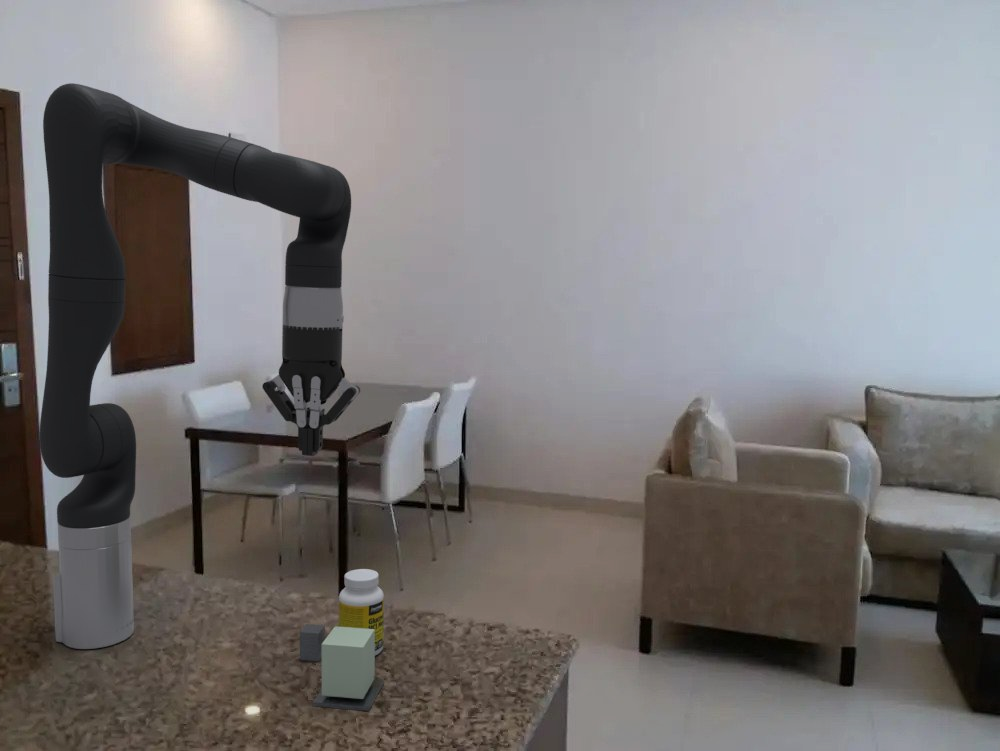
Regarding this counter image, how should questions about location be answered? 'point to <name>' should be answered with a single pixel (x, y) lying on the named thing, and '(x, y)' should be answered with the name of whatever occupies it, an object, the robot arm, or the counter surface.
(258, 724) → the counter surface
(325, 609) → the counter surface
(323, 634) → the short post
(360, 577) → the pill bottle
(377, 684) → the post on square base
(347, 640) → the pale green block
